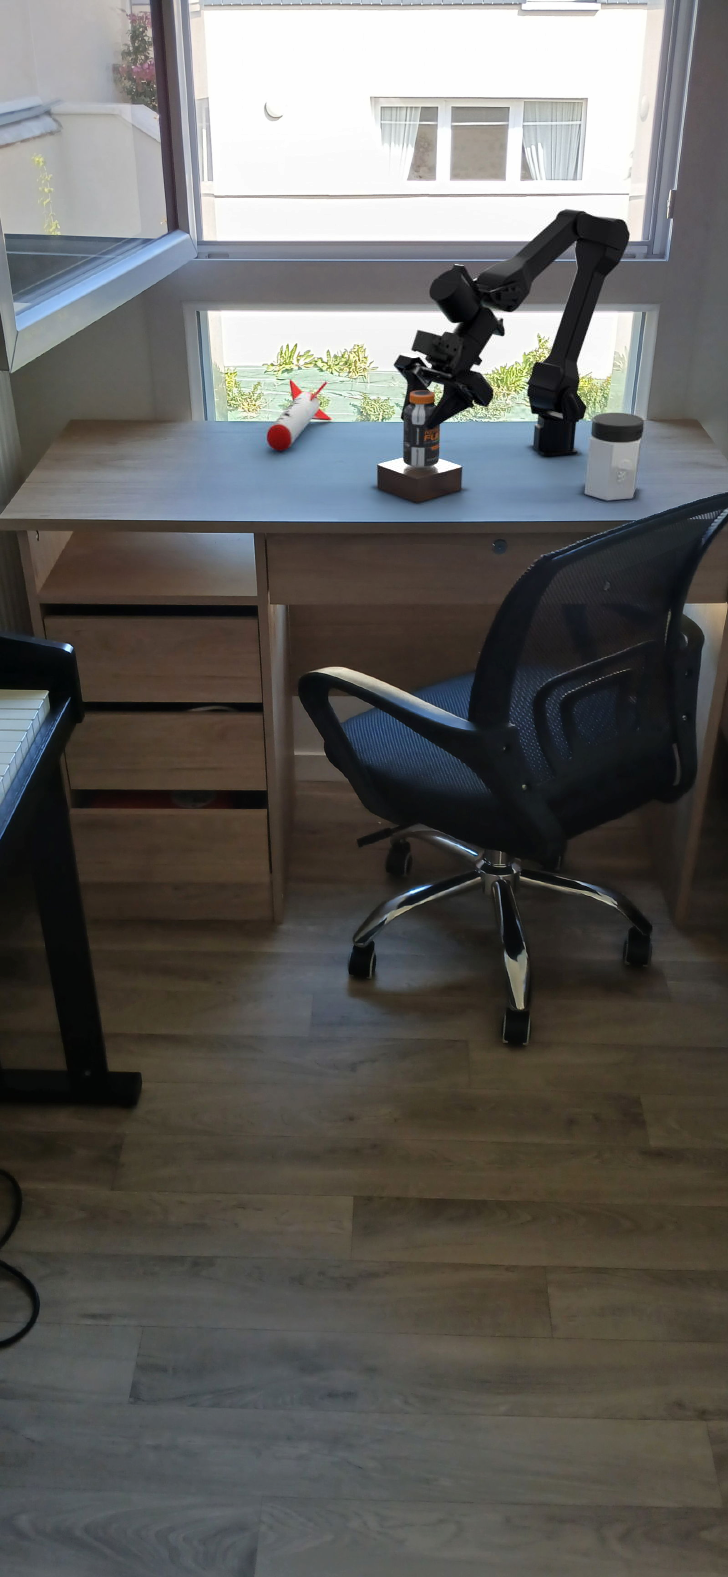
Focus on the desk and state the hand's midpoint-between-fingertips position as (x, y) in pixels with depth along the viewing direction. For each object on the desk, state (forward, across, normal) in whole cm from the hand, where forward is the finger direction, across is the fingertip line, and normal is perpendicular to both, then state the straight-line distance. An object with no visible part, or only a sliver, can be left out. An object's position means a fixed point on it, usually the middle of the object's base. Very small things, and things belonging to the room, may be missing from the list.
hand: (415, 423), depth 186 cm
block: (+7, 0, +8) cm, 11 cm away
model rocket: (+5, -38, +10) cm, 40 cm away
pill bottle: (+4, 0, +6) cm, 7 cm away
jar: (-9, +22, +25) cm, 34 cm away
